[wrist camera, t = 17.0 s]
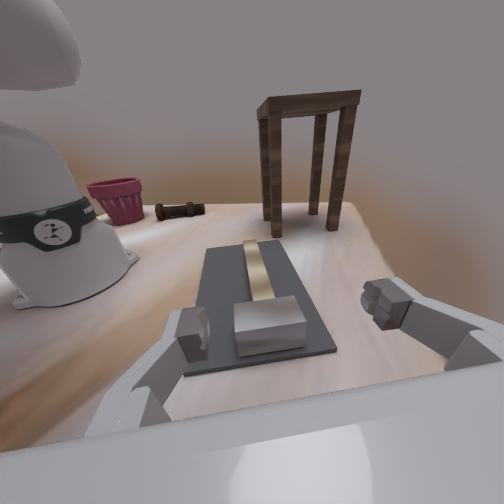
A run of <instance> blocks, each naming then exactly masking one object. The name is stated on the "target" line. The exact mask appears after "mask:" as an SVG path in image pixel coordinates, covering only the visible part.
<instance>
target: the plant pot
mask: <svg viewBox="0 0 504 504" xmlns="http://www.w3.org/2000/svg"><path fill="white" fill-rule="evenodd" d="M87 189H88V191H89V193H90V195H91V197H92V198H94V199H96V200H97V201H98V202H99V204H100V205H101V206H102V208H103V209H104V210H105V212H106V213H107V214H108V216H109V217H110V218H111V219H112V221H113V222H114V224H117V225H125V224H130V223H134V222H137V221H139V220H141V219H143V218H144V214H143V206H142V199H141V192H140V191H142V186H141V183H140V181H139V179H138V178H120V179H112V180H105V181H100V182H94V183H91V184H88V185H87Z"/></svg>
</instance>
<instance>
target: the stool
mask: <svg viewBox="0 0 504 504" xmlns="http://www.w3.org/2000/svg"><path fill="white" fill-rule="evenodd" d="M360 96H361V90H350V91H339V92H338V91H337V92H325V93H312V94H300V95H287V96H276V97H268V98H267V99H266V100H265V101H264V103H263V104H262V105H261V106H260V107H259V108H258V109H257V120H258V122H259V142H260V159H261V160H260V161H261V179H262V198H263V217H264V220H265V221H268V220H271V234H272V237H273V238H280V237H282V202H281V201H282V197H281V195H282V194H281V193H282V192H281V190H282V186H281V184H282V180H281V178H282V176H281V118H292V117H304V116H315V126H314V140H313V155H312V168H311V182H310V183H311V184H310V197H309V211H308V213H309V214H310V215H318V205H319V194H320V184H321V173H322V163H323V152H324V142H325V131H326V121H327V114H328V113H331V112H335V111H338V110H340V116H339V124H338V132H337V140H336V149H335V157H334V165H333V173H332V181H331V189H330V197H329V205H328V213H327V222H326V229H327V230H329V231H336V230H338V224H339V218H340V212H341V205H342V199H343V193H344V186H345V180H346V174H347V167H348V161H349V154H350V148H351V142H352V136H353V129H354V123H355V117H356V110H357V105H359V102H360Z"/></svg>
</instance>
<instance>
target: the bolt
mask: <svg viewBox="0 0 504 504" xmlns="http://www.w3.org/2000/svg"><path fill="white" fill-rule="evenodd" d="M155 212H156V216H157V218H158V220H160V221H162V220H164V219H165V218H166V217H169V216H179V215H188V216H189V217H191V216H195V214H197V213H204V212H205V206H204V204H195V205H194V204H193V203H192V202H188V203H187V204H186V205H180V206H169V207H167V206H166V207H163V205H162V204H157V205H156V206H155Z"/></svg>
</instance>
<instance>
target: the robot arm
mask: <svg viewBox="0 0 504 504" xmlns="http://www.w3.org/2000/svg"><path fill="white" fill-rule="evenodd" d="M80 67H81V60H80V53H79V49H78V45H77V42H76V39H75V36H74V34H73V32H72V30H71V28H70V26H69V24H68V22H67V20H66V19H65V17H64V15H63V14H62V12H61V11H60V10H59V8H58V7H57V5H56V4H55V3H54V1H53V0H0V89H3V90H25V91H42V90H49V89H56V88H62V87H67V86H72V85H75V83H76V82H77V80H78V77H79V74H80ZM96 216H97V215H96V213H95V212H94V209H93V206H92V204H91V203H90V202H89V200H88V199H87V197H85V196H83V195H82V194H81V192H80V190H79V188H78V186H77V184H76V182H75V180H74V178H73V176H72V174H71V172H70V170H69V169H68V167H67V165H66V163H65V161H64V159H63V157H62V155H61V153H60V152H59V150H58V149H57V148H56V147H55V146H54V145H53V144H52V143H50V142H49V141H48V140H47V139H45V138H43V137H42V136H40V135H38V134H35V133H33V132H31V131H28V130H25V129H23V128H20V127H17V126H14V125H11V124H8V123H5V122H2V121H0V243H2V249H1V251H0V268H1V269H2V270H3V272H4V273H5V274H6V276H7V277H8V278H9V279H10V281H11V282H12V283H13V284H14V285H15V287H16V288H17V289H18V290H19V292H18V294H17V295H16V297H15V299H14V300H13V302H12V305H13V307H14V308H15V309H23V308H28V307H33V306H44V307H52V306H60V305H64V304H69V303H72V302H75V301H79V300H81V299H84V298H87V297H89V296H91V295H94V294H96V293H98V292H100V291H102V290H104V289H105V288H107V287H109V286H110V285H112V284H113V283H115V282H116V281H117V280H119V279H120V278H121V277H122V276H123V275H124V274H125V273H126V272H127V270H128V269H129V267H130V266H131V265H132V264H133V263H134V262H136V261H137V260H138V259H139V256H138V255H137V253H134V252H132V251H129V250H127V249H124V247H123V245H122V243H121V241H120V239H119V237H118V236H117V234H116V232H115V230H114V228H113V227H112V226H111V225H108V224H107V223H103V222H101V221H99V220H98V219H97V218H96ZM363 288H364V290H365V291H364V292H363V293H362V294H361V299H360V300H361V305H362V307H363V309H364V310H365V311H366V312H367V313H368V314H370V315H372V316H373V321H374V322H375V323H376V324H377V325H378V327H379V328H380V329H381V330H382V331H385V330H392V329H399V328H400V330H401V331H403V332H404V333H406V334H408V335H409V336H411V337H413V338H414V339H416V340H418V341H419V342H421V343H422V344H424V345H426V346H427V347H429V348H431V349H432V350H434V351H436V352H437V353H439V354H440V355H442V356H444V357H445V358H447V359H449V360H448V361H447V363H446V364H445V366H444V370H445V371H446V372H440V373H435V374H429V375H424V376H418V377H413V378H407V379H402V380H396V381H391V382H385V383H380V384H374V385H369V386H363V387H358V388H352V389H347V390H341V391H336V392H330V393H325V394H319V395H314V396H308V397H303V398H298V399H292V400H287V401H281V402H276V403H270V404H265V405H259V406H254V407H248V408H243V409H237V410H232V411H227V412H221V413H216V414H210V415H205V416H199V417H194V418H188V419H183V420H177V421H172V422H171V419H170V417H169V416H168V414H167V413H166V411H165V410H164V408H163V407H162V406H163V404H164V403H165V401H166V400H167V398H168V397H169V395H170V394H171V392H172V390H173V389H174V387H175V386H176V384H177V383H178V381H179V379H180V378H181V376H182V375H183V373H184V372H185V370H186V369H187V367H188V365H189V363H194V362H199V361H204V360H208V351H209V345H208V342H207V341H208V339H209V338H210V324H209V319H208V318H207V317H206V309H205V307H204V306H199V307H191V308H183V309H177V310H172V311H171V312H170V315H169V318H168V320H167V323H166V326H165V329H164V332H163V335H162V338H161V340H159V341H157V342H156V343H155V344H154V345H153V346H152V347H151V348H150V349H149V350H148V351H147V352H146V353H145V354H144V355H143V356H142V357H140V358H139V359H138V360H137V361H136V362H135V363H134V364H133V365H132V366H131V367H130V368H129V369H128V370H127V371H126V372H125V373H124V374H123V375H122V376H121V377H120V378H119V379H118V380H117V381H116V382H115V383H114V384H113V385H112V386H111V387H110V388H109V389H108V390H107V391H106V392H105V394H104V396H103V398H102V401H101V403H100V405H99V407H98V409H97V411H96V413H95V415H94V417H93V419H92V421H91V423H90V425H89V427H88V429H87V431H86V433H85V435H84V437H83V438H79V439H74V440H68V441H63V442H57V443H52V444H46V445H41V446H35V447H30V448H24V449H19V450H13V451H8V452H2V453H0V504H504V325H502V324H500V323H497V322H494V321H491V320H489V319H486V318H483V317H480V316H478V315H475V314H472V313H469V312H467V311H464V310H461V309H458V308H456V307H453V306H450V305H447V304H444V303H442V302H439V301H436V300H434V299H431V298H425V297H424V296H422V295H421V294H420V293H418V292H417V291H416V290H414V289H413V288H412V287H410V286H409V285H408V284H407V283H405V282H404V281H402V280H401V279H400V278H398V277H391V278H386V279H379V280H373V281H367V282H366V283H365V284H364V287H363Z"/></svg>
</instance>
